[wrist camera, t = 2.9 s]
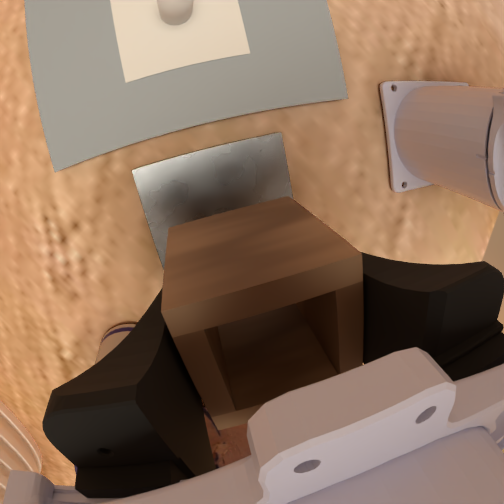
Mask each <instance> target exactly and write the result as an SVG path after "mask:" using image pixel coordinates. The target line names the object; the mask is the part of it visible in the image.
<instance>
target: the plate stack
mask: <svg viewBox="0 0 504 504" xmlns="http://www.w3.org/2000/svg"><path fill="white" fill-rule="evenodd" d="M41 468H42V455H41V452H40V449H39V447H38V445H37V443H36V442H35V440H34V438H33V437H32V436H31V434H30V433H29V431H28V430H27V429H26V427H25V426H24V425H23V424H22V423H21V421H20V420H19V419H18V418H17V417H16V416H15V415H14V414H13V412H12V411H11V410H10V409H9V408H8V407H7V406H6V405H5V404H4V403H3V402H2V401H1V400H0V504H3V500H4V495H5V491H6V486H7V482H8V478H9V474H10V470H21V471H32V472H36V473H39V474H40V472H41Z"/></svg>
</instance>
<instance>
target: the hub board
mask: <svg viewBox="0 0 504 504" xmlns="http://www.w3.org/2000/svg"><path fill="white" fill-rule="evenodd" d="M25 17H26V29H27V39H28V48H29V56H30V63H31V70H32V76H33V82H34V88H35V93H36V98H37V103H38V108H39V113H40V117H41V122H42V126H43V130H44V134H45V138H46V142H47V146H48V150H49V154H50V157H51V161H52V164H53V168H54V171H55V172H57V171H59V170H62V169H64V168H67V167H69V166H72V165H74V164H77V163H80V162H82V161H85V160H87V159H90V158H93V157H96V156H98V155H101V154H104V153H107V152H110V151H112V150H115V149H118V148H121V147H124V146H127V145H130V144H133V143H137V142H140V141H143V140H146V139H149V138H153V137H156V136H160V135H163V134H167V133H170V132H174V131H177V130H181V129H185V128H189V127H192V126H196V125H200V124H204V123H209V122H213V121H217V120H221V119H226V118H230V117H235V116H240V115H245V114H249V113H255V112H260V111H265V110H271V109H276V108H282V107H288V106H295V105H301V104H308V103H316V102H323V101H332V100H341V99H348V94H347V89H346V83H345V78H344V73H343V68H342V63H341V58H340V54H339V49H338V45H337V40H336V36H335V32H334V28H333V24H332V20H331V16H330V12H329V8H328V4H327V1H326V0H25Z"/></svg>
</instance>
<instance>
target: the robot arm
mask: <svg viewBox="0 0 504 504" xmlns="http://www.w3.org/2000/svg"><path fill="white" fill-rule="evenodd" d="M391 86H393V87H394V90H393V91H392V89H391ZM380 93H381V100H382V106H383V113H384V120H385V128H386V136H387V145H388V155H389V166H390V179H391V188H392V190H393V191H394V192H397V193H400V192H404V191H408V190H413V189H417V188H421V187H425V186H430V185H434V184H436V185H438V186H441V187H444V188H446V189H449V190H452V191H454V192H457V193H459V194H462V195H464V196H467V197H469V198H472V199H474V200H477V201H479V202H482V203H484V204H486V205H489V206H491V207H493V208H495V209H498V210H500V211H502V212H503V214H504V88H493V87H474V86H469V85H468V84H467V83H463V82H444V81H385V82H382V83H381V84H380ZM403 182H404V186H403V187H402V183H403ZM361 253H362V252H361ZM362 264H363V306H364V326H363V363H364V365H362V366H359V367H357V368H354V369H352V370H349V371H347V372H344V373H341V374H339V375H336V376H333V377H331V378H328V379H325V380H322V381H319V382H316V383H313V384H311V385H308V386H305V387H302V388H299V389H295V390H292V391H289V392H287V393H285V394H283V395H281V396H279V397H277V398H274V399H272V400H270V401H268V402H266V403H265V404H264V405H263V406H262V407H261V408H260V409H259V410H258V411H257V412H256V413H255V414H254V415H253V416H252V417H251V418H250V419H249V420H248V425H247V439H248V443H249V447H250V451H251V455H250V456H247V457H245V458H243V459H240V460H238V461H236V462H233V463H231V464H228V465H226V466H223V467H221V468H218V469H216V466H215V462H214V458H213V454H212V450H211V445H210V441H209V436H208V432H207V427H206V422H205V417H204V411H203V406H202V399H201V397H200V395H199V393H198V391H197V389H196V387H195V385H194V383H193V381H192V379H191V377H190V375H189V372H188V370H187V368H186V366H185V364H184V362H183V360H182V358H181V356H180V353H179V351H178V349H177V347H176V345H175V342H174V340H173V338H172V336H171V333H170V331H169V329H168V327H167V324H166V322H165V320H164V317H163V315H162V313H161V304H162V290H163V288H162V289H161V291H160V292H159V294H158V295H157V297H156V298H155V300H154V301H153V303H152V304H151V305H150V307H149V308H148V310H147V311H146V313H145V314H144V315H143V317H142V318H141V319H140V320H139V322H138V323H137V324H136V326H135V327H134V328H133V329H132V330H131V332H130V333H129V334H128V335H127V336H126V337H125V338H124V339H123V340H122V341H121V342H120V343H119V344H118V345H117V346H116V347H115V348H114V349H113V350H112V351H111V352H109V353H108V354H107V355H106V356H105V357H104V358H102V359H101V360H100V361H99V362H98V363H96V364H95V365H93V366H92V367H91V368H89V369H88V370H86V371H85V372H83V373H82V374H80V375H79V376H77V377H76V378H74V379H72V380H70V381H69V382H67V383H65V384H63V385H61V386H60V387H58V388H56V389H54V390H52V393H51V396H50V399H49V402H48V406H47V409H46V412H45V415H44V419H43V431H44V433H45V435H46V437H47V438H48V439H49V441H50V442H51V443H52V444H53V445H54V446H55V447H56V448H57V449H58V450H59V451H60V452H61V453H62V454H63V455H64V456H65V457H66V458H67V459H68V460H70V461H71V462H72V463H73V464H74V465H75V466H76V467H77V475H76V482H75V486H61V485H54V484H53V483H52V482H51V481H50V480H48V479H47V478H46V477H44V476H43V475H41V474H39V473H36V472H32V471H21V470H10V474H9V478H8V482H7V486H6V491H5V495H4V500H3V504H504V453H503V452H502V449H504V334H503V333H502V332H501V331H502V330H503V324H501V323H500V322H499V321H498V320H497V318H498V314H499V311H500V307H501V303H502V299H503V295H504V278H503V275H502V273H501V272H500V271H499V270H498V269H496V268H495V267H493V266H491V265H490V264H488V263H487V262H485V261H482V262H474V263H465V264H448V265H433V264H417V263H408V262H401V261H395V260H390V259H385V258H381V257H377V256H373V255H369V254H366V253H362Z"/></svg>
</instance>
